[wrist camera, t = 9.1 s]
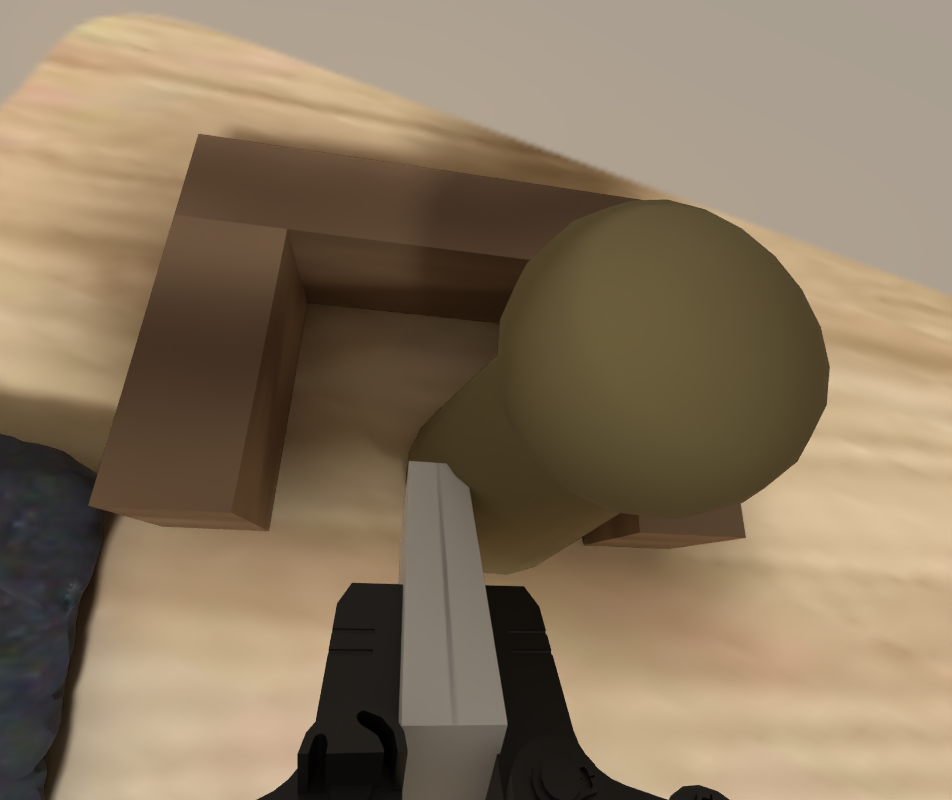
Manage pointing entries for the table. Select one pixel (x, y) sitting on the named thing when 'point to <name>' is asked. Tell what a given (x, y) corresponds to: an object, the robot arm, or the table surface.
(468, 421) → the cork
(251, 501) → the walnut pocket
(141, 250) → the table surface
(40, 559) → the dark slate chunk
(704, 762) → the table surface
